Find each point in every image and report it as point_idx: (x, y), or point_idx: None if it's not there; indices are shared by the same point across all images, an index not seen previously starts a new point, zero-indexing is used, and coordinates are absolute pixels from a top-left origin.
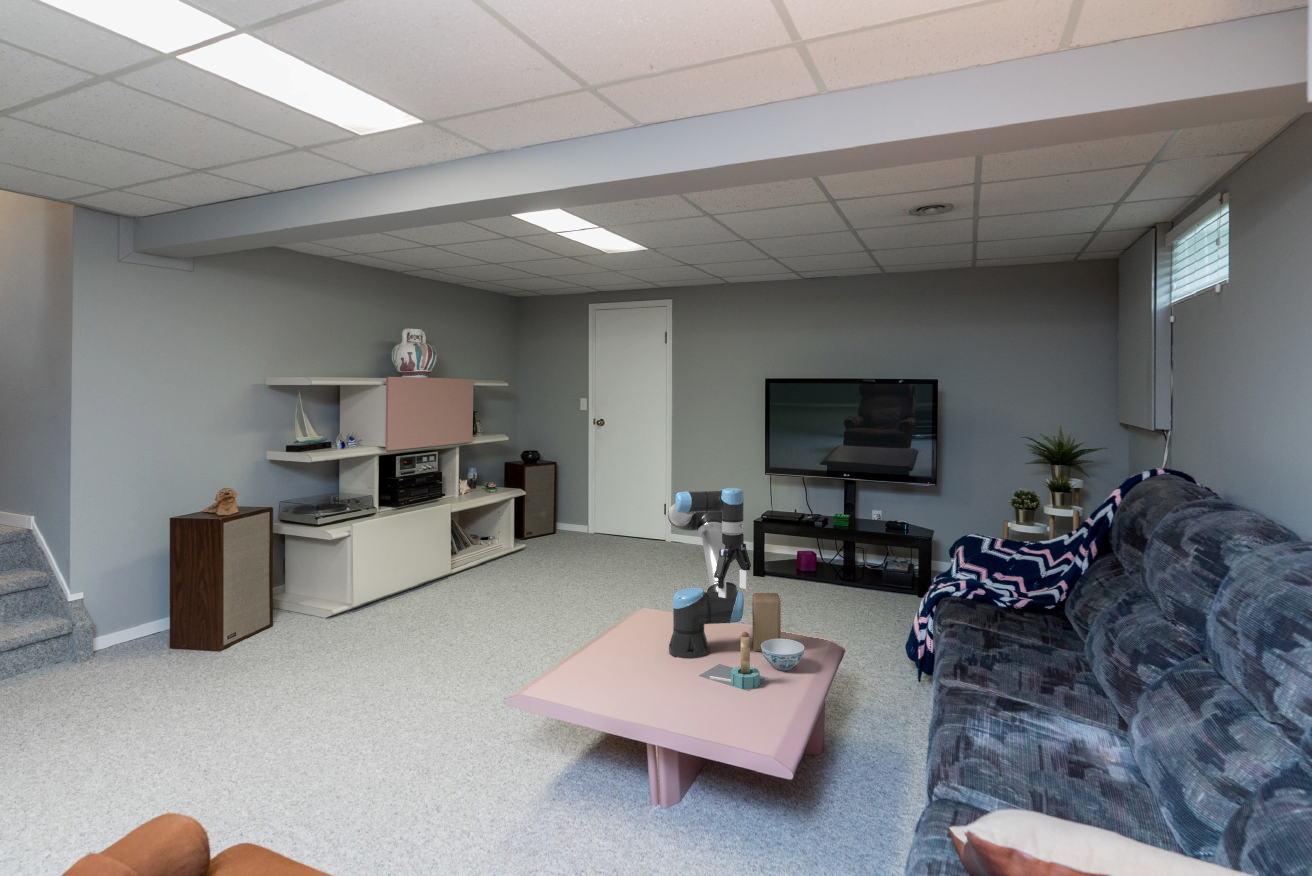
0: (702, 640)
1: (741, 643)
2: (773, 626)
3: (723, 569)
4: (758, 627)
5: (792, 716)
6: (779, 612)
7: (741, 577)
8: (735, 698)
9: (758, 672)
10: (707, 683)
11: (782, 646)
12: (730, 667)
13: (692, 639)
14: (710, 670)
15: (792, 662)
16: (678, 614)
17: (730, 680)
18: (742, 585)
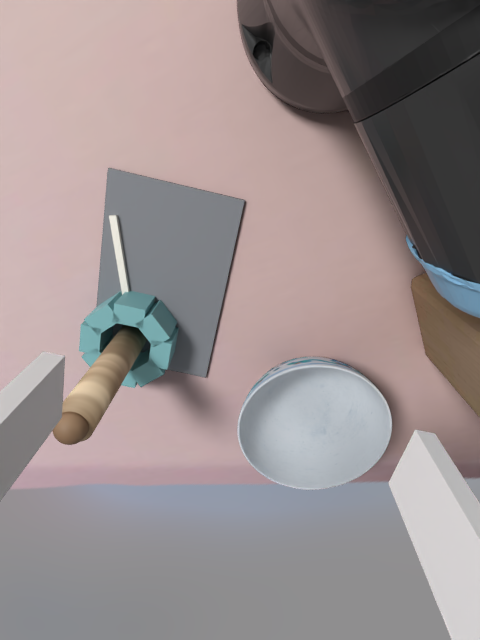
0: (316, 84)
1: (68, 395)
2: (464, 388)
3: None
4: (452, 330)
5: (35, 466)
6: None
7: (454, 540)
8: (37, 332)
9: (139, 383)
10: (79, 220)
11: (374, 402)
12: (229, 249)
13: (274, 37)
14: (172, 192)
15: (265, 445)
16: None
17: (121, 289)
18: (413, 473)
